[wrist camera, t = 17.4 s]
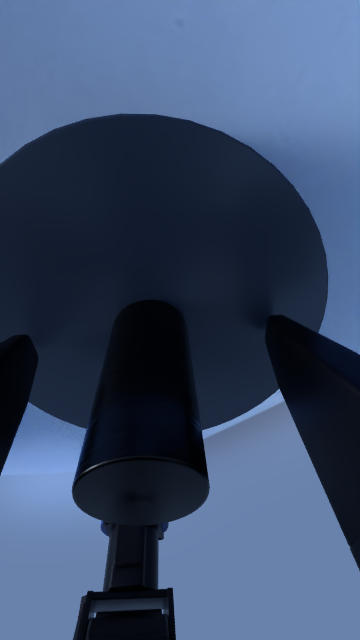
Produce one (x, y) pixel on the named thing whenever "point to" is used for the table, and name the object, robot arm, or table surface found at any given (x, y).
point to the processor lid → (151, 295)
